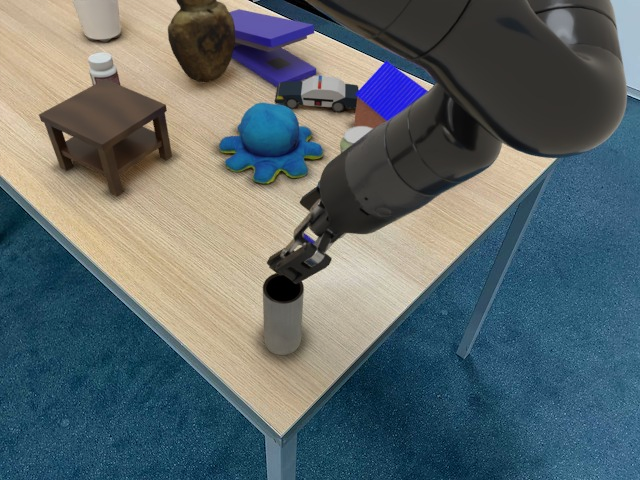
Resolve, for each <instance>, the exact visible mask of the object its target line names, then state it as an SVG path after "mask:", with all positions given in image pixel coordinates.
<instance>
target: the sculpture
mask: <svg viewBox="0 0 640 480" xmlns="http://www.w3.org/2000/svg"><path fill="white" fill-rule="evenodd" d="M175 1H176V3H177V5H178V6H179V8H180V9H179V10H178V11H177V12H176V13H175V14H174V15H173V17H172V18H171V20H170V22H169V25H168V26H167V37H168V42H169V46H170V48H171V52H172V54H173V55H174V57H175V59H176V61H177V62H178V65H179V66H180V67H181V69H182V71H183V72H184V73H185V75H186V76H187V77H188V78H189V79H191V80H192V81H195V82H197V83H211V82H214V81H216V80H217V79H219V78H220V77H222V76H223V75H224V74H225V72H226V70H227V69H228V67H229V65H230V64H231V60H232V59H233V58H232V54H233V50H234V45H235V26H234V21H233V18H232V15H231V14H230V13H229V12H230V11H229V10H228V7H227V5H226V4H224V3H223V2H221V1H219V0H218V1H217V0H175Z"/></svg>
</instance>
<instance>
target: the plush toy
mask: <svg viewBox="0 0 640 480" xmlns="http://www.w3.org/2000/svg"><path fill="white" fill-rule="evenodd" d="M299 122H300V121H299V120H298V117H297V115H296V113H295V112H294V111H293V109H290V108H288V107H287V106H286V105H285V104H276V103H269V102H257V103H255V104H253V105H252V106H251V107H249V108H248V109H247V110H246V111H245V112H244V114H243V116H242V117H241V120H240V123H238V125H237V133H238V135H231V136H230V135H229V136H225V137H223V138H222V139H221V140H220V142H219V145H218V147H219V151H220V152H221V154H233V155H231V156H230V157H228V158H226V159H225V161H224V163H225V167H226V169H227V170H229V171H232V172H235V173H240V172H243V171H245V170H246V169H249V168H252V169H253V175H252V180H253V181H254V182H255V183H260V184H270V183H272V182H274V181H275V180H276V177H277V176H278V174H280V172H281V171H282V172H283V173H284V174H285V176H287V177H289V178H291V179H296V178H297V179H299V178H302V177H306V176H307V175H308V171H309V170H308V166H307V164H306V162H305V161H306V160H305V159H309V160H318V159H322V158H323V156H324V149H323V147H322V144H320V143H318V142H316V141H309V140H310V139H311V138H312V137H313V133H312V130H311V128H309V127H307V126H303V125H300V123H299Z"/></svg>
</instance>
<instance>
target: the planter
mask: <svg viewBox="0 0 640 480" xmlns="http://www.w3.org/2000/svg"><path fill="white" fill-rule="evenodd" d="M304 294H305V286H304V282H303V281H301V282H299V283H297V284H295V283H294V282H292V280H290V279H289V278H287V277H286V276H285V275H279V274H277V273H276V272H274V273H273V274H271V275H268V277H266V279H265V280H264V281H263V283H262V308H263V309H262V310H263V311H262V315H263V316H262V317H263V341H264V346H265V347H266V348H267V350H268V351H269V352H271V353H272V354H275V355H278V356H287V355H291V354H294V352H296V351H297V350H298V348H299V347H300V345H301V342H302V333H303V331H302V329H303V312H304V296H305V295H304Z"/></svg>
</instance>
